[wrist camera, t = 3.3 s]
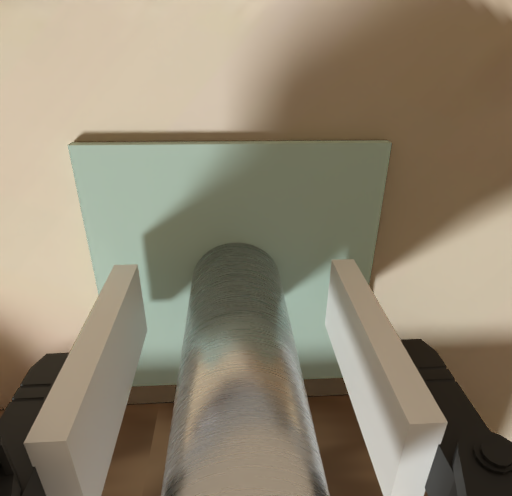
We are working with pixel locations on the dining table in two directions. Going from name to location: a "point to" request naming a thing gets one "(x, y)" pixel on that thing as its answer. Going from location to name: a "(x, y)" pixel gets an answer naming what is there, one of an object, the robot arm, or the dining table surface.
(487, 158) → the dining table surface
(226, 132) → the dining table surface
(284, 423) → the pin
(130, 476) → the wooden block with holes
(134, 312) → the robot arm
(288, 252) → the mat
